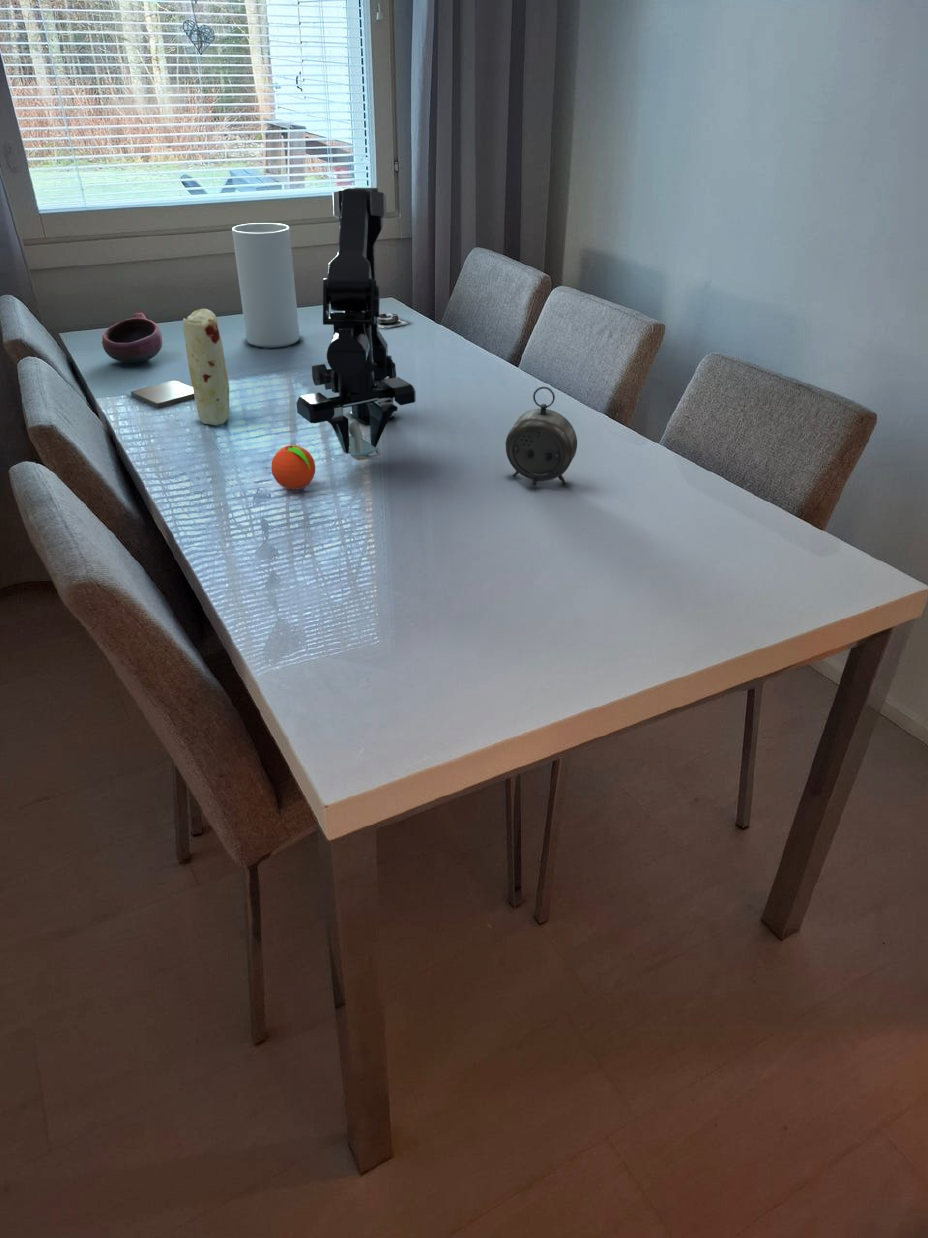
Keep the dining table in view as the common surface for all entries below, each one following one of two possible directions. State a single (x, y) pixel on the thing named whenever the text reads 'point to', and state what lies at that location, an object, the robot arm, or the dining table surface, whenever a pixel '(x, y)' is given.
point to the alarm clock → (541, 444)
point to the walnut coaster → (164, 394)
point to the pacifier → (361, 445)
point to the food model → (207, 366)
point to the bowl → (133, 340)
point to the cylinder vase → (266, 284)
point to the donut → (389, 320)
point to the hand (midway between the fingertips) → (360, 449)
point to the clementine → (293, 467)
